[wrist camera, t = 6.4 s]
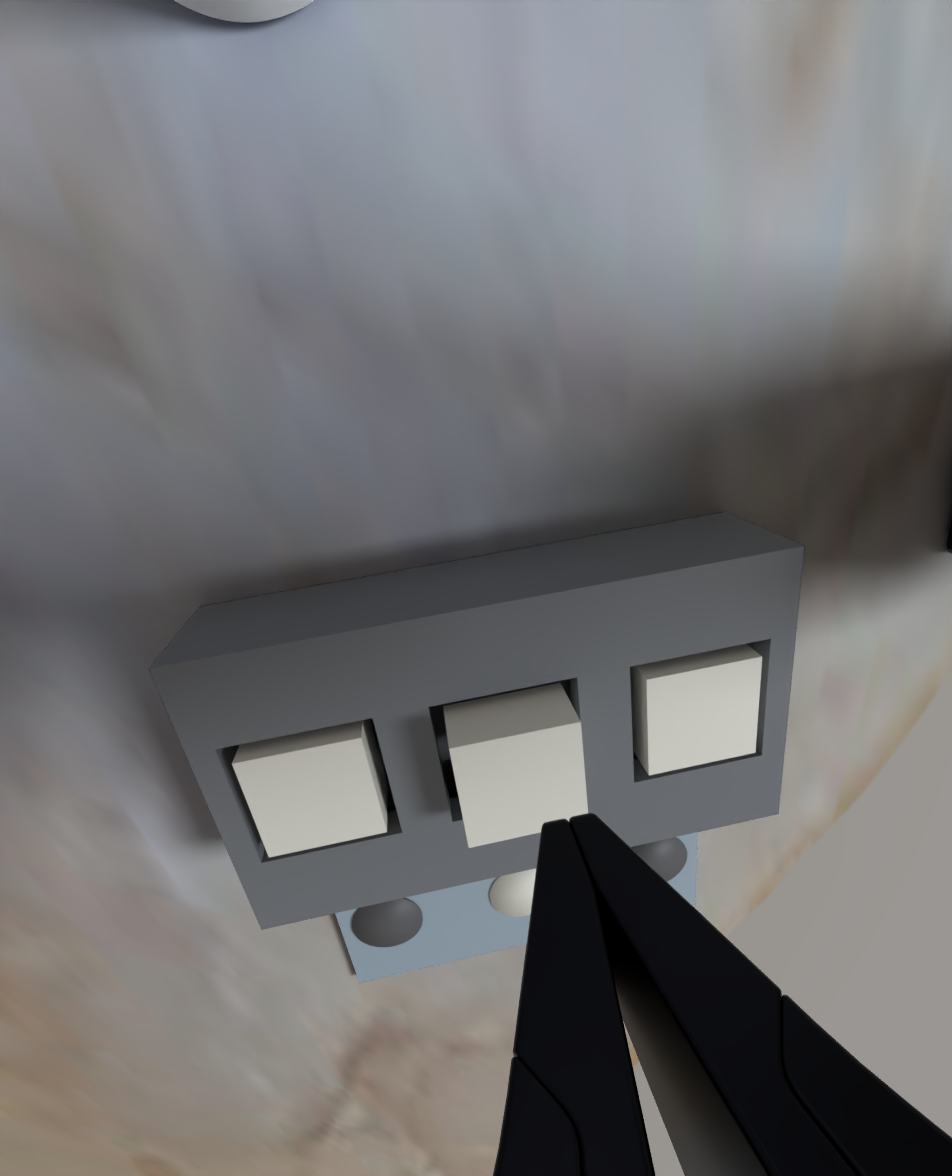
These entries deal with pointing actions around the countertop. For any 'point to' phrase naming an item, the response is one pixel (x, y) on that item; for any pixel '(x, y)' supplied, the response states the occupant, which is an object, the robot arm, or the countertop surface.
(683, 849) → the pattern card
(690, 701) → the button
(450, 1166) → the countertop surface
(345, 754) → the button
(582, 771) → the button middle
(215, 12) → the can
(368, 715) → the button board
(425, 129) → the countertop surface
